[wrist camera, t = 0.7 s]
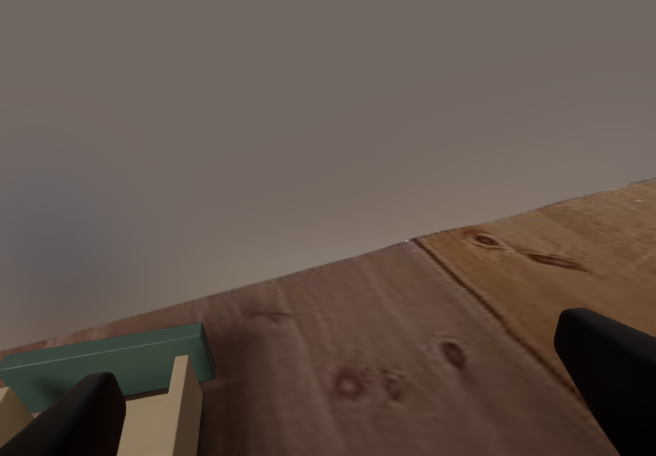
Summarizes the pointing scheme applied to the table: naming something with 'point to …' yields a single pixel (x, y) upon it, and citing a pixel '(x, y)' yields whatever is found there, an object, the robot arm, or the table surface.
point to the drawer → (132, 376)
